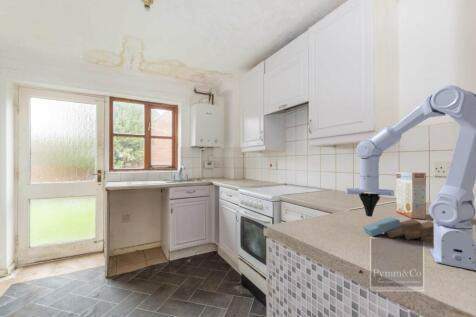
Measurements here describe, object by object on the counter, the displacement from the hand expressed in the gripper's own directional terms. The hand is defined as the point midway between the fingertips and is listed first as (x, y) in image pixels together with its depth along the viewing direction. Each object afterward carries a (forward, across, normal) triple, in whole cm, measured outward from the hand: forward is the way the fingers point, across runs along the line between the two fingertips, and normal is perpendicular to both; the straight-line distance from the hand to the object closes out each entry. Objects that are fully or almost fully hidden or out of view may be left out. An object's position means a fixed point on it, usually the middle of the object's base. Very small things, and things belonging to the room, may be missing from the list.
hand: (369, 215), depth 75 cm
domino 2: (+5, -5, 0) cm, 7 cm away
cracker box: (+7, -29, -37) cm, 47 cm away
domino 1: (+5, 0, 0) cm, 5 cm away
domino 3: (+6, -10, 0) cm, 11 cm away
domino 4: (+6, -14, 0) cm, 15 cm away
